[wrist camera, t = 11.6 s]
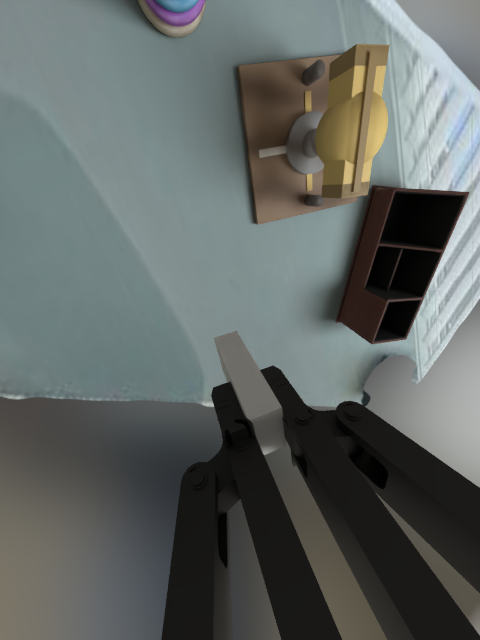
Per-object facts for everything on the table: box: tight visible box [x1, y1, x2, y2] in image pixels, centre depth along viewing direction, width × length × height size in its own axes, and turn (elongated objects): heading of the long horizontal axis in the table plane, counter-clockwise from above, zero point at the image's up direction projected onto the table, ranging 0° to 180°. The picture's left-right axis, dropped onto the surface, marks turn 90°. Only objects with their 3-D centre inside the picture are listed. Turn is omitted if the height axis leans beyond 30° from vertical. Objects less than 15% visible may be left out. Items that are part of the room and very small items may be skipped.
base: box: [237, 55, 358, 224], centre depth 37 cm, size 20×20×8 cm
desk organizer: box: [336, 185, 469, 344], centre depth 50 cm, size 10×29×11 cm, turn 176°
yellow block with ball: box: [315, 44, 389, 198], centre depth 31 cm, size 14×7×5 cm, turn 5°
